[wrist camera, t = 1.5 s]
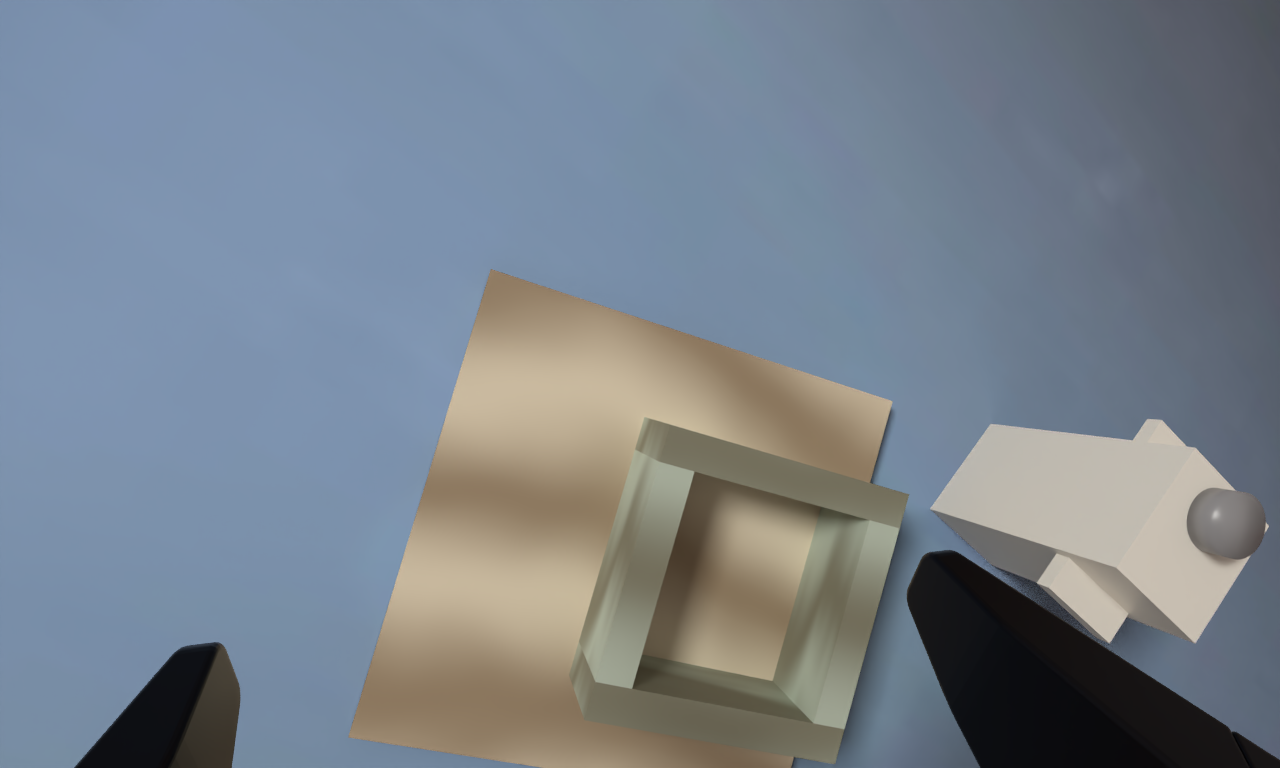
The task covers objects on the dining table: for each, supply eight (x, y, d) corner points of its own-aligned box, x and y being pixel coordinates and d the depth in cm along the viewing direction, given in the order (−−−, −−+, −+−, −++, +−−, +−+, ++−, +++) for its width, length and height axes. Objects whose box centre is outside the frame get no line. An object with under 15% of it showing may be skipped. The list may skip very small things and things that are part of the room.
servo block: (976, 588, 30) (1201, 687, 20) (913, 532, 29) (1119, 610, 20) (1065, 459, 30) (1318, 500, 21) (1006, 401, 30) (1243, 419, 21)
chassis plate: (771, 792, 27) (822, 862, 24) (351, 725, 24) (329, 796, 20) (880, 400, 28) (947, 406, 24) (490, 272, 24) (495, 254, 20)
